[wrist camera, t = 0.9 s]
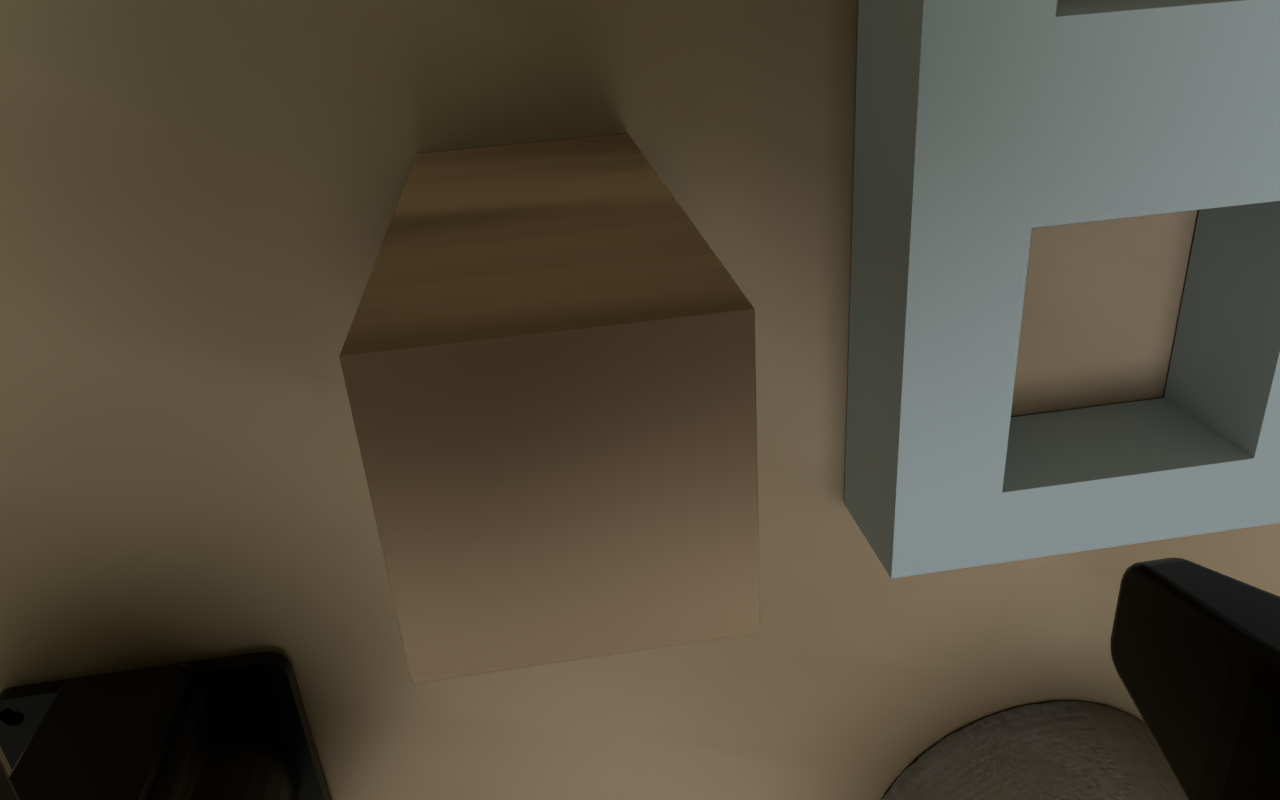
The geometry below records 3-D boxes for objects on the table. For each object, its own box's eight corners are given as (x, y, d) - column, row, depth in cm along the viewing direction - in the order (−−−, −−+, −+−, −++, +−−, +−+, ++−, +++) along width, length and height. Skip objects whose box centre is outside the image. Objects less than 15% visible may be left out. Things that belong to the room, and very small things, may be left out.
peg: (641, 328, 20) (760, 633, 11) (449, 350, 20) (411, 684, 11) (627, 133, 18) (754, 309, 9) (416, 153, 18) (339, 355, 9)
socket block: (1349, 435, 24) (1469, 504, 21) (844, 503, 23) (896, 587, 20) (1621, -512, 16) (1875, -615, 13) (872, -485, 15) (966, -594, 12)
